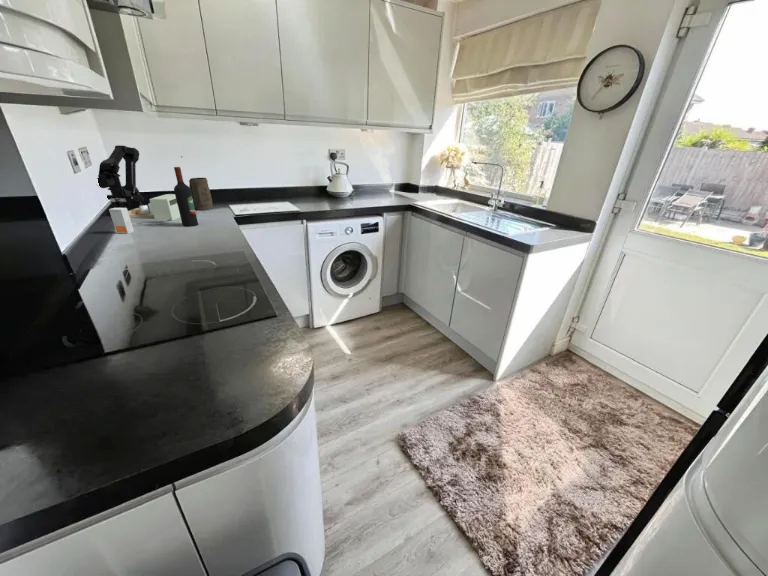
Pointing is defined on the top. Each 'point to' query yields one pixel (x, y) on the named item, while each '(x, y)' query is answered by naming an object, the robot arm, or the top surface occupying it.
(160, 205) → the pale green box
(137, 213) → the tray
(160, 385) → the top surface
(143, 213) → the white rounded cylinder
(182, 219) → the wine bottle
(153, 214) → the white box
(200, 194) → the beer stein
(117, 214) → the skincare box
